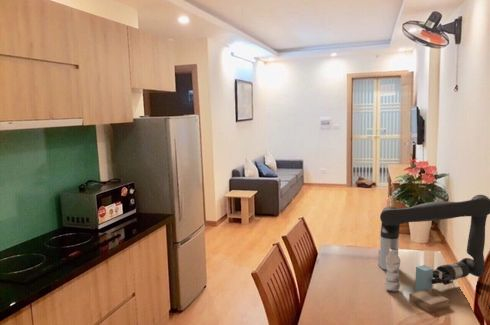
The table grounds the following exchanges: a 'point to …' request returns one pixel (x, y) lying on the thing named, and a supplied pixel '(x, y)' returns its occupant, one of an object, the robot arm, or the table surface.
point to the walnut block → (429, 300)
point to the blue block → (423, 278)
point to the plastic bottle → (392, 270)
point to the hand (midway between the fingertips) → (424, 278)
